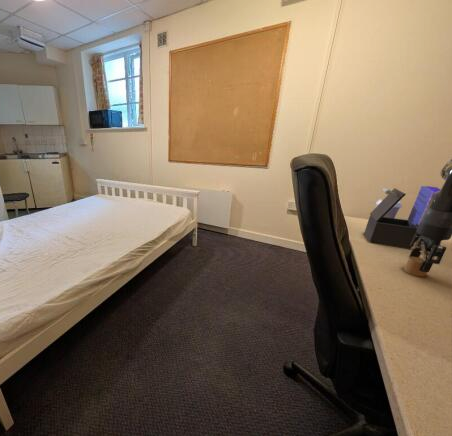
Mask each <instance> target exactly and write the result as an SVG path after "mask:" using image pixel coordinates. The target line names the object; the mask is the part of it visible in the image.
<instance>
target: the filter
mask: <svg viewBox="0 0 452 436" xmlns="http://www.w3.org/2000/svg"><path fill="white" fill-rule="evenodd" d="M422 261H423V258H422V257H420V256H419V257H409V256H408V259H407V260H406V263H405V266H404V268H403V271H404V272H406V273H407V274H410V275H413V276H416V277H426V275H427V273H428V272H422V271H420V270H419V267H420V265H421V263H422Z"/></svg>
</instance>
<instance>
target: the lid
mask: <svg viewBox="0 0 452 436" xmlns="http://www.w3.org/2000/svg"><path fill="white" fill-rule="evenodd" d="M381 191H382V192H383V193H384V194H386V196H385V197H384V198H383V199H384V200H383V201H382V202H381V203H380V204H379V205H378V206H377V207H376V206H375V208H374V209H373V210H372V211H371V212H370V213H369V216H370V215H371V216H372V217H373V218H374V219H375V220H376V221H377V222H379V221H380V220H381V219H382V218H383V217H384V216H385V215H386V214H387V213H388V212H389V211H390V210H391V209H392V208H393V207H394V206H395V205H396V204H397V203H398V202H401V200H403V198H405V196H406V195H407V193H405V192H403V191H401V190H399V189H398V188H395V187H394V188H393V189H392V190H390V189H389V188H387V187H383V188H382V189H381Z"/></svg>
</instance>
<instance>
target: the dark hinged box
mask: <svg viewBox="0 0 452 436" xmlns="http://www.w3.org/2000/svg"><path fill="white" fill-rule="evenodd" d="M416 230H417V226H416V225H415V224H413V223H412V222H411V221H410V220H408V219H404V218H403V219H402V218H396V217H395V218H388V217H383V218H382V219H381V220H380V221H379V222H377V221H376V220H375V219H374V218H373V217H372V216H371V215H370V214H369V218H368V221H367V223H366V226H365V228H364V231H363V234H364V236H365V238H366V240H367V241H368V242H369V243H372V244H376V245H377V244H378V245H382V246H389V247H394V248H399V249H405V250H412V249H411V247H412V246H410V243H411V241H412V239H413V237H414V235H415V233H416Z"/></svg>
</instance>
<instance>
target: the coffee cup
mask: <svg viewBox="0 0 452 436" xmlns="http://www.w3.org/2000/svg"><path fill="white" fill-rule="evenodd" d="M384 199H385V198H379V199H378V200H377V201H376V202H375V208H376V207H377V206H378V205H379V204H380V203H381V202H382V201H383V200H384ZM402 207H403V205H402V202H401V201H399V202H398V203H397V204H396V205H395V206H394V207H393V208H392V209H391V210H390V211H389V212H388V213H387V214H386V215H385V216H384V217H388V218H396V216H397V214H398V212H399V210H400V209H401V208H402Z"/></svg>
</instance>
